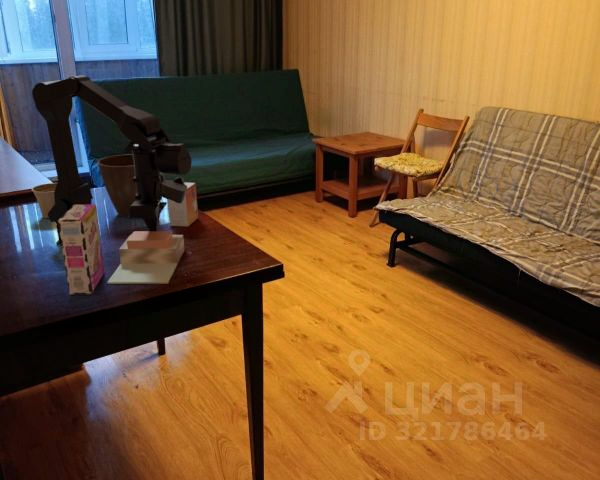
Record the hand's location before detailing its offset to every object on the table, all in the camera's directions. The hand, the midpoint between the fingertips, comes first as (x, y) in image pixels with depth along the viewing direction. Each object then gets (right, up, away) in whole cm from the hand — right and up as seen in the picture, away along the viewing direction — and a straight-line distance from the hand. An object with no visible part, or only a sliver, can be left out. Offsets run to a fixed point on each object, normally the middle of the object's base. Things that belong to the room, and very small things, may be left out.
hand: (154, 234), depth 135 cm
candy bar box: (-11, -11, -14) cm, 21 cm away
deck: (0, -6, -1) cm, 6 cm away
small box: (+2, +4, +23) cm, 24 cm away
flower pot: (-37, +5, +29) cm, 47 cm away
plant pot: (-15, +6, +31) cm, 35 cm away
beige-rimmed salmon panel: (0, -2, -3) cm, 4 cm away
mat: (0, -9, -9) cm, 13 cm away
